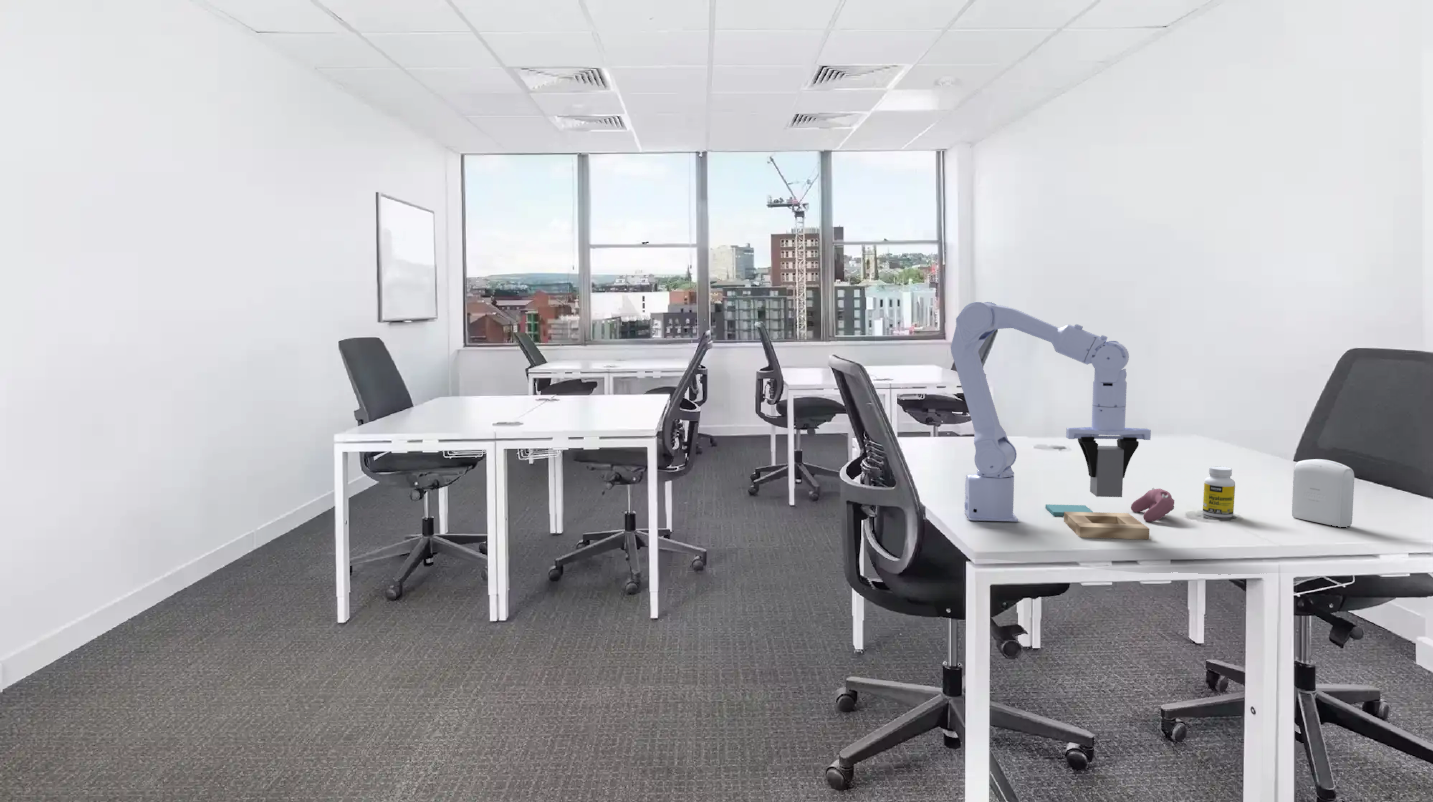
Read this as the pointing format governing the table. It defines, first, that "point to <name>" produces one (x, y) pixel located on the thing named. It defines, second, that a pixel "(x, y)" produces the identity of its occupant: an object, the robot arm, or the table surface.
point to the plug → (1108, 472)
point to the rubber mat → (1066, 509)
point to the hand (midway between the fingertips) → (1106, 476)
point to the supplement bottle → (1219, 492)
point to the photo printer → (1323, 492)
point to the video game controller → (1154, 504)
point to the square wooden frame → (1106, 525)
